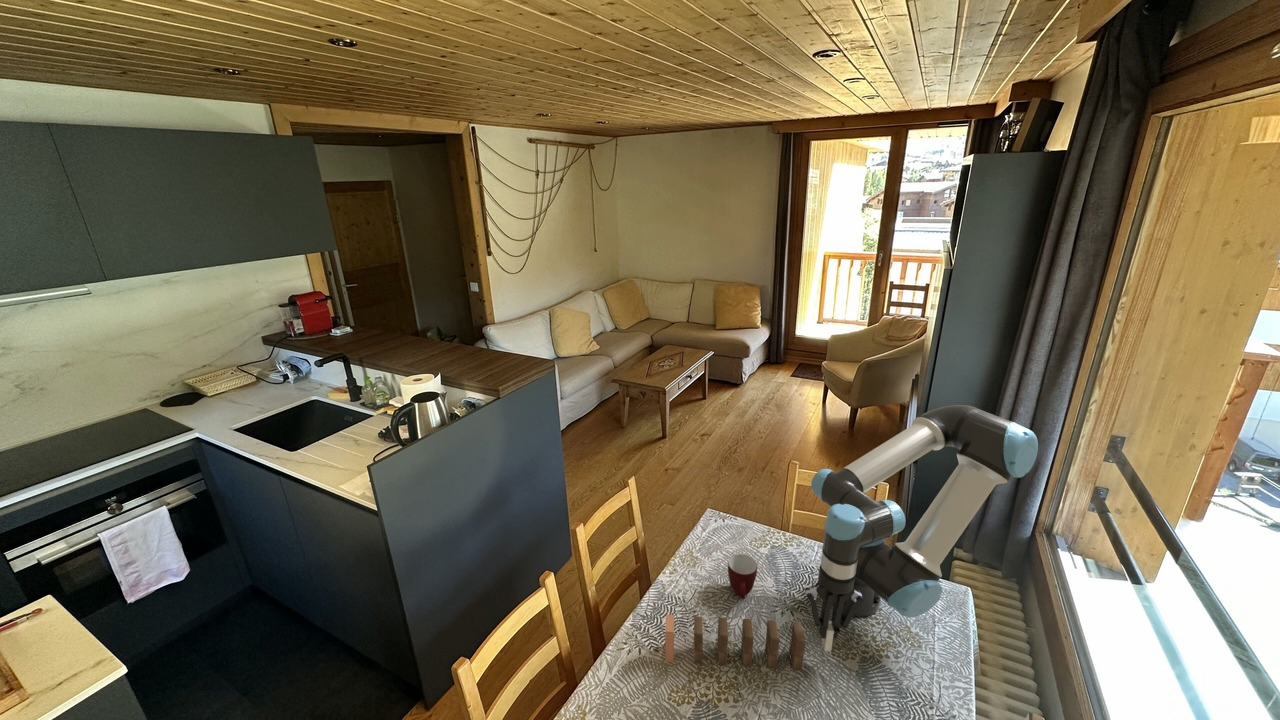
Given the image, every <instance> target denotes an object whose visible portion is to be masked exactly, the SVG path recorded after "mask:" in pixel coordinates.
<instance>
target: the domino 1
mask: <svg viewBox="0 0 1280 720" xmlns="http://www.w3.org/2000/svg"><path fill="white" fill-rule="evenodd" d="M664 633H665V636H664V637H665V639H664V641H665V643H664V646H665V663H675V661H674V660H675V658H674V657H675V654H674V653H675V615H674V614H665V632H664Z"/></svg>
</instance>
